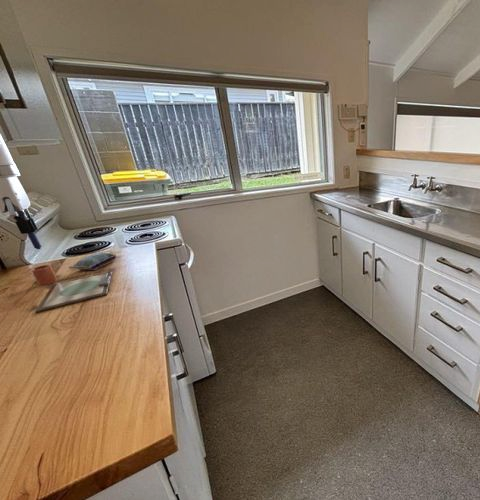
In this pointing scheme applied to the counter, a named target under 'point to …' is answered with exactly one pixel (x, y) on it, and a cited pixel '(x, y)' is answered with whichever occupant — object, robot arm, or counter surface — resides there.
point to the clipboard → (75, 291)
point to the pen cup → (44, 274)
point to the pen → (34, 240)
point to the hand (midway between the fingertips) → (29, 231)
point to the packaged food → (93, 261)
